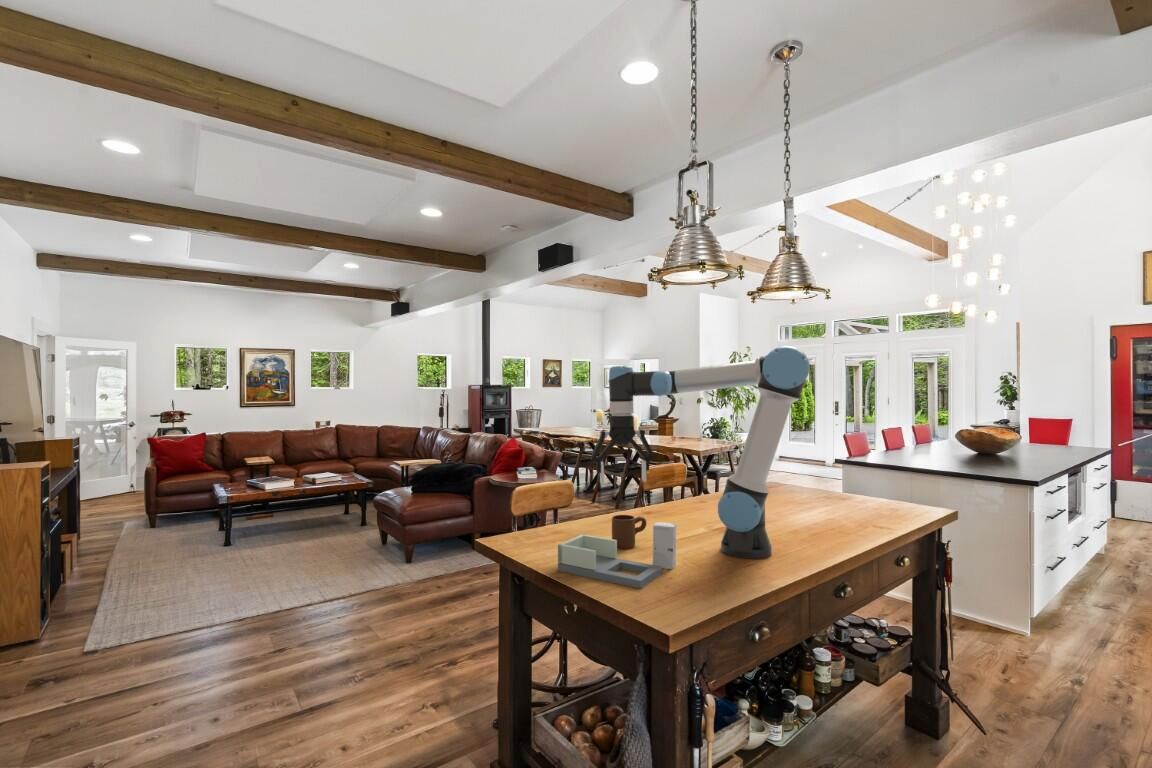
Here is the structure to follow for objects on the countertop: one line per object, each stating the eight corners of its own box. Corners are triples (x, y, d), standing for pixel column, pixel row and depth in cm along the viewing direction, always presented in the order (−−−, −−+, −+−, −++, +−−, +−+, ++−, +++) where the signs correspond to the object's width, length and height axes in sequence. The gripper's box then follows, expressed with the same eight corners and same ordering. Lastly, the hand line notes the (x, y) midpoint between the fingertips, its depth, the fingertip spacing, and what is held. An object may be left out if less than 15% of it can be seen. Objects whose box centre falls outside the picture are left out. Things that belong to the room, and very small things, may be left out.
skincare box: (652, 567, 156) (651, 525, 156) (655, 562, 160) (655, 521, 160) (673, 569, 154) (673, 527, 154) (676, 565, 158) (676, 523, 158)
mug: (641, 540, 183) (641, 512, 183) (651, 546, 176) (651, 517, 176) (608, 544, 180) (608, 515, 180) (617, 550, 172) (617, 520, 172)
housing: (617, 557, 158) (616, 540, 158) (594, 569, 147) (594, 551, 147) (582, 550, 165) (582, 534, 165) (557, 562, 154) (557, 544, 154)
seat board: (661, 573, 151) (661, 566, 151) (640, 588, 140) (640, 580, 140) (582, 558, 165) (582, 551, 165) (557, 570, 154) (557, 563, 154)
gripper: (656, 413, 178) (658, 478, 177) (581, 415, 174) (582, 481, 174) (663, 414, 170) (664, 482, 170) (584, 416, 167) (585, 485, 167)
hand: (623, 482), depth 172 cm, fingers open, 13 cm apart
